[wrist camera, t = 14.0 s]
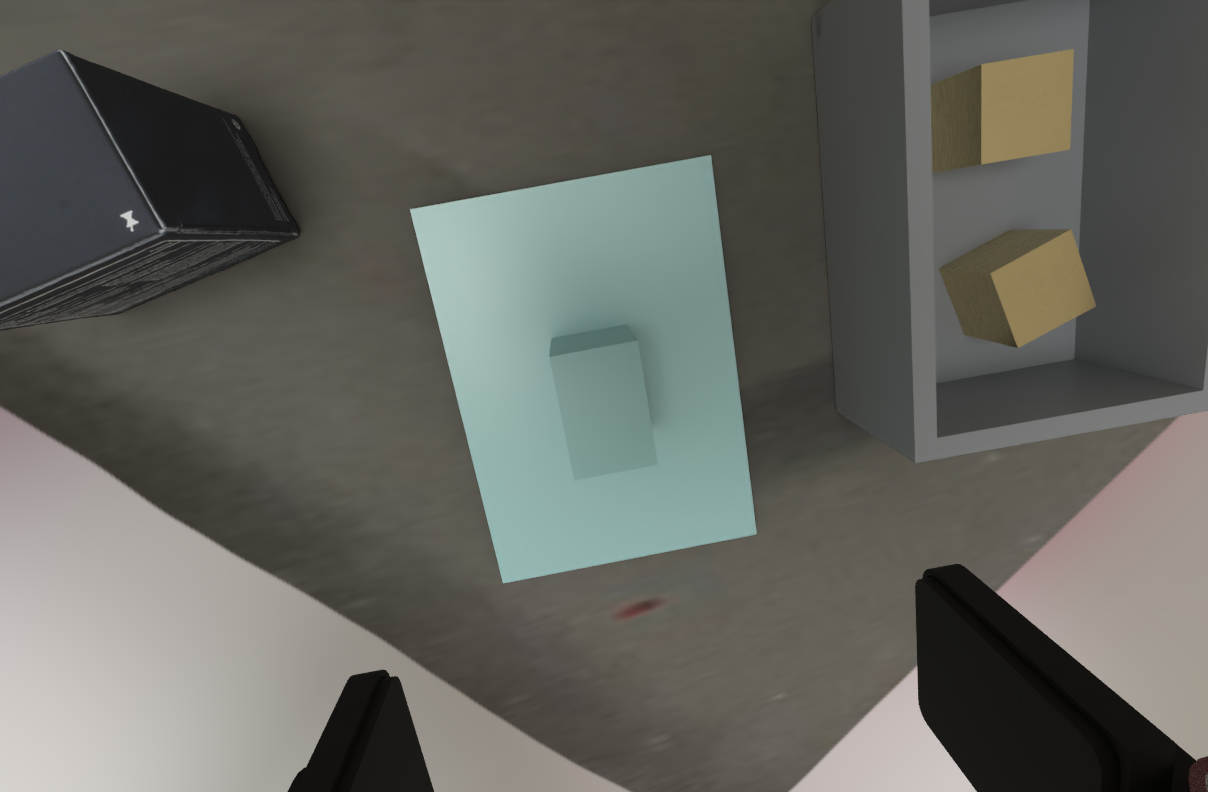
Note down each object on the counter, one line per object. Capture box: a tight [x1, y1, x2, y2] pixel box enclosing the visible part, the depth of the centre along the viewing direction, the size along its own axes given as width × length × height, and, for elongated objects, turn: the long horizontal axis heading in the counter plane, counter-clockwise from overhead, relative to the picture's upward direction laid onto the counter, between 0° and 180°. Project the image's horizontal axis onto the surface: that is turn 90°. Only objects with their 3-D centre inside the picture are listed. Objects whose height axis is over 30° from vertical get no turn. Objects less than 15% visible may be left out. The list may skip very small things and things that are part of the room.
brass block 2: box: [939, 229, 1096, 348], centre depth 30 cm, size 4×4×4 cm
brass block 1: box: [931, 49, 1074, 173], centre depth 28 cm, size 4×4×4 cm
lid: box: [410, 155, 757, 583], centre depth 31 cm, size 21×15×6 cm
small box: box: [0, 49, 298, 330], centre depth 25 cm, size 11×6×10 cm, turn 112°
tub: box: [811, 0, 1208, 463], centre depth 28 cm, size 20×14×8 cm
